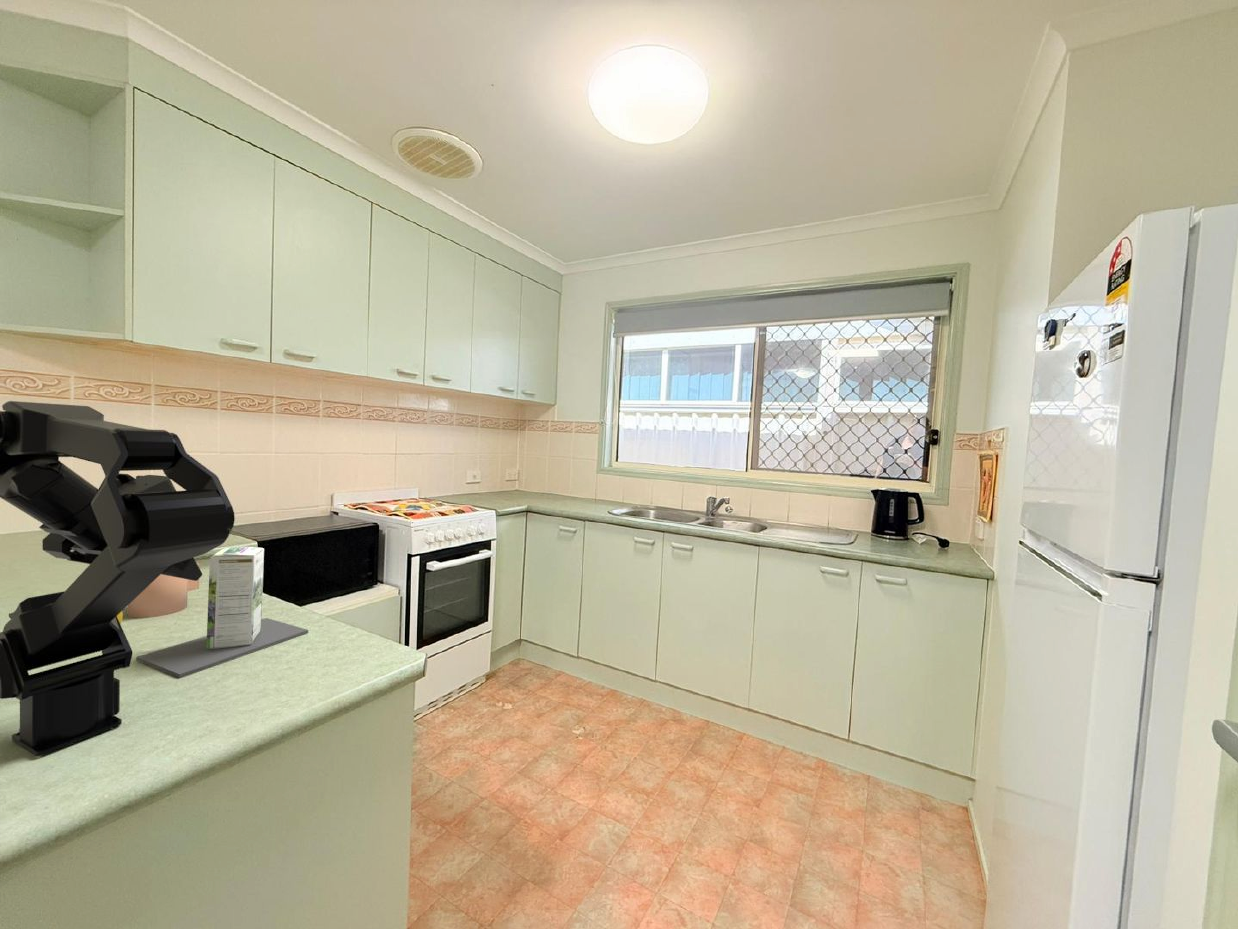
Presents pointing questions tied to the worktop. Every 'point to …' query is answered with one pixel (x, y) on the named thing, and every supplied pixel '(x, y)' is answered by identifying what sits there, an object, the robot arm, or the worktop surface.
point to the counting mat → (216, 650)
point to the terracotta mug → (162, 597)
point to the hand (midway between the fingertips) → (173, 573)
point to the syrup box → (235, 597)
